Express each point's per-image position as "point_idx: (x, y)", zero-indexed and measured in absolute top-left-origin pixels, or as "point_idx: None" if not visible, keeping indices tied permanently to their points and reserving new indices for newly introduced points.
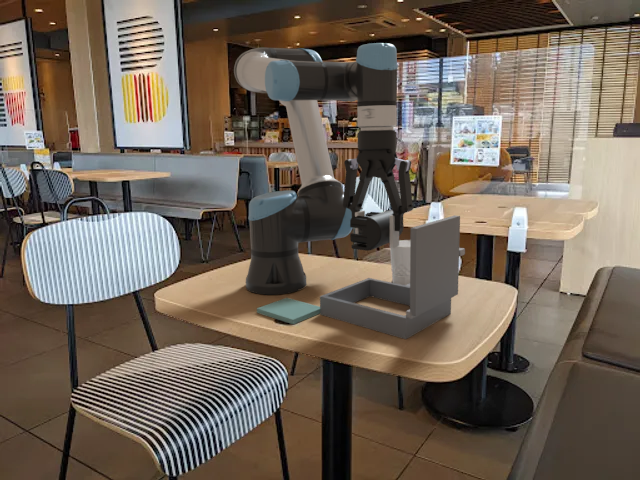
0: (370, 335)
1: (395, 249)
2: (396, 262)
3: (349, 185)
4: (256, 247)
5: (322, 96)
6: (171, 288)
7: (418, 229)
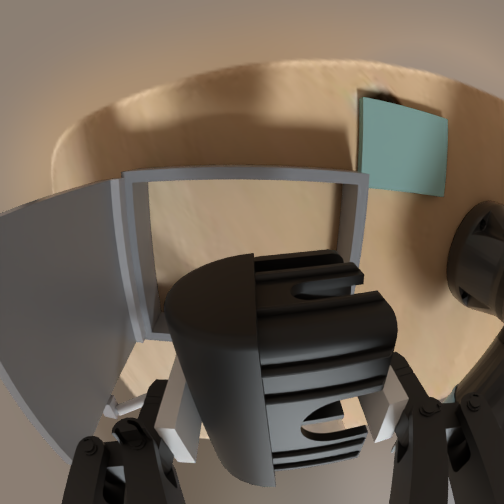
0: (198, 139)
1: (328, 429)
2: None
3: (497, 502)
4: None
5: None
6: None
7: None
